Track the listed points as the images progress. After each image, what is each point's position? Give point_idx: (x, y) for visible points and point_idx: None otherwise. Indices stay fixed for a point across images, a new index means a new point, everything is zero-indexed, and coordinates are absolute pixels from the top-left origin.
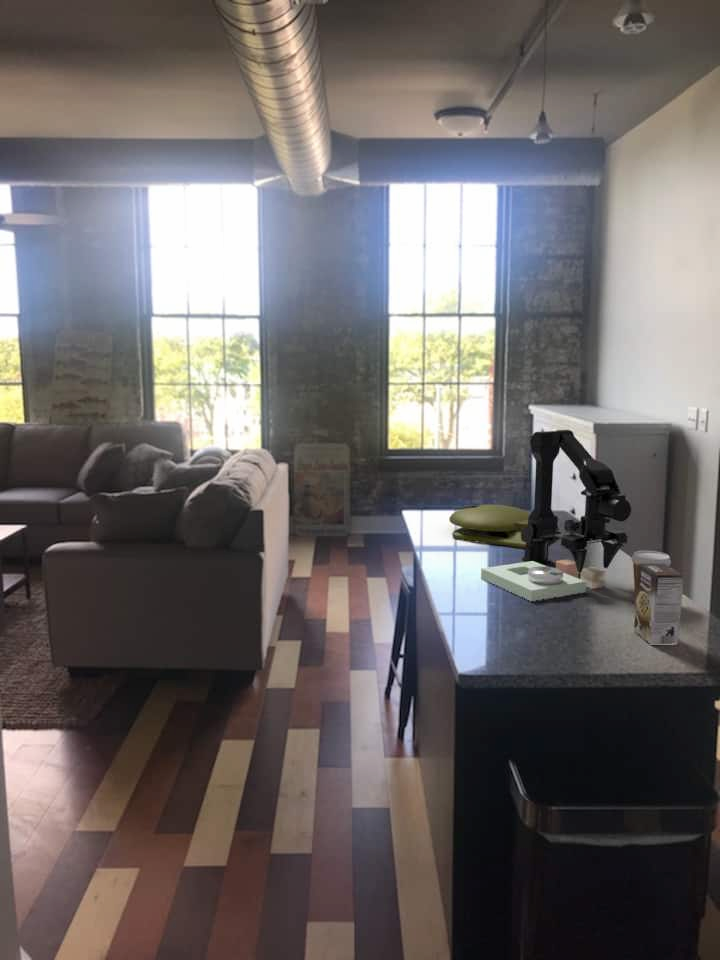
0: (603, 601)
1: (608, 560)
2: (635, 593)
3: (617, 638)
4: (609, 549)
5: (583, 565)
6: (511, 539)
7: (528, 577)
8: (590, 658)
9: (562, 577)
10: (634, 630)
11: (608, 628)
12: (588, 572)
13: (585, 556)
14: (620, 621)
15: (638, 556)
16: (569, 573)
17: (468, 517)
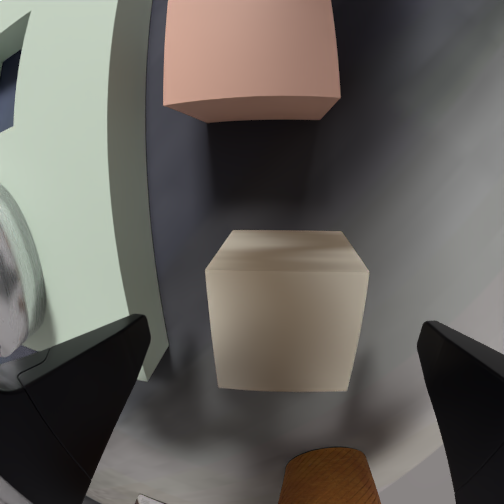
0: (176, 426)
1: (437, 405)
2: (292, 475)
3: (102, 482)
4: (487, 475)
5: (126, 397)
6: None
7: None
8: None
9: (24, 341)
10: (138, 496)
11: (103, 471)
12: (214, 351)
13: (89, 476)
14: (140, 478)
15: None
16: (224, 114)
17: None
